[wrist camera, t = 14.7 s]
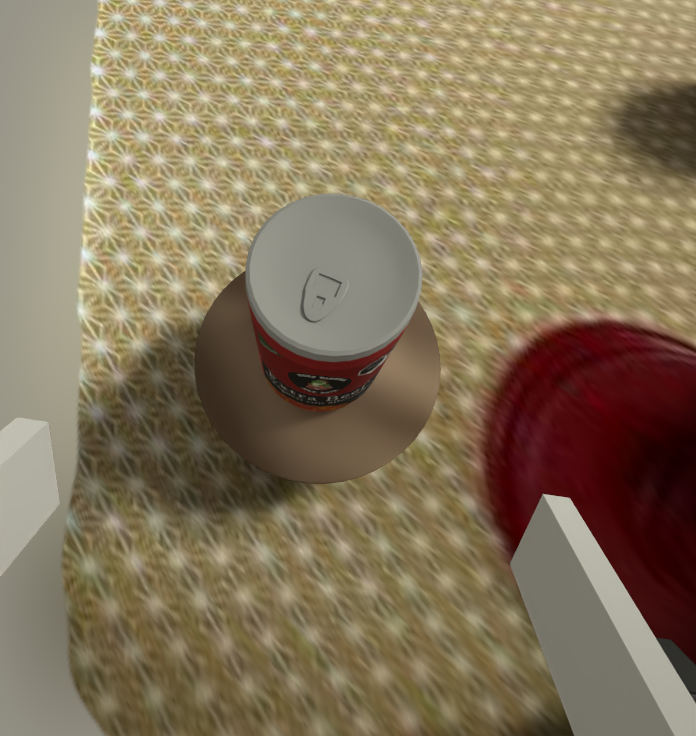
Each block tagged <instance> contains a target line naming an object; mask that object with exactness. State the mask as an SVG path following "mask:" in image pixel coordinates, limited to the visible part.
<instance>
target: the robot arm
mask: <svg viewBox="0 0 696 736" xmlns="http://www.w3.org/2000/svg"><path fill="white" fill-rule="evenodd" d="M59 504H60V500H59V493H58V485H57V478H56V471H55V464H54V457H53V450H52V443H51V436H50V429H49V422H45V421H39V420H32V419H26V418H18V417H17V418H16V419H15V420H13V421H12V422H11V423H10V424H9V425H7V426H6V427H5V428H4V429H2V430H1V431H0V577H1V575H2V574H3V573H4V572H5V570H6V569H7V568H8V567H9V565H10V564H11V563H12V562H13V561H14V559H15V558H16V557H17V555H18V554H19V553H20V552H21V551H22V550H23V548H24V547H25V546H26V545H27V543H28V542H29V541H30V540H31V539H32V537H33V536H34V535H35V533H36V532H37V531H38V530H39V529H40V528H41V526H42V525H43V524H44V523H45V521H46V520H47V519H48V518H49V516H50V515H51V514H52V513H53V512H54V510H55V509H56V508H57V507H58V505H59ZM510 566H511V568H512V571H513V574H514V576H515V579H516V582H517V584H518V587H519V590H520V592H521V595H522V598H523V600H524V603H525V606H526V608H527V611H528V614H529V616H530V619H531V622H532V624H533V627H534V630H535V632H536V635H537V638H538V640H539V643H540V646H541V648H542V651H543V654H544V656H545V659H546V662H547V665H548V667H549V670H550V673H551V675H552V678H553V681H554V683H555V686H556V689H557V691H558V694H559V697H560V699H561V702H562V705H563V707H564V710H565V713H566V715H567V718H568V721H569V723H570V726H571V729H572V731H573V734H574V736H696V665H695V664H694V663H693V662H692V661H691V660H690V659H689V658H688V657H687V656H686V655H685V654H684V653H683V652H682V651H681V650H680V649H679V648H678V647H677V646H676V645H675V644H674V643H673V642H672V641H671V640H668V639H660V638H655V636H654V635H653V633H652V631H651V630H650V628H649V626H648V625H647V623H646V622H645V620H644V618H643V617H642V615H641V613H640V612H639V610H638V609H637V607H636V605H635V604H634V602H633V600H632V599H631V597H630V595H629V594H628V592H627V591H626V589H625V587H624V586H623V584H622V582H621V581H620V579H619V578H618V576H617V574H616V573H615V571H614V569H613V568H612V566H611V565H610V563H609V561H608V560H607V558H606V556H605V555H604V553H603V552H602V550H601V548H600V547H599V545H598V543H597V542H596V540H595V538H594V537H593V535H592V534H591V532H590V530H589V529H588V527H587V525H586V524H585V522H584V521H583V519H582V517H581V516H580V514H579V512H578V511H577V509H576V508H575V506H574V504H573V503H572V501H571V499H570V498H566V497H559V496H552V495H545V494H543V495H542V497H541V499H540V502H539V504H538V506H537V508H536V510H535V512H534V514H533V516H532V519H531V521H530V523H529V525H528V527H527V529H526V531H525V533H524V535H523V538H522V540H521V542H520V544H519V546H518V548H517V550H516V552H515V554H514V557H513V559H512V561H511V563H510Z"/></svg>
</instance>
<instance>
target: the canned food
mask: <svg viewBox="0 0 696 736" xmlns="http://www.w3.org/2000/svg"><path fill="white" fill-rule="evenodd" d="M245 277H246V293H247V298H248V305H249V310H250V314H251V319H252V323H253V328H254V333H255V337H256V342H257V346H258V351H259V356H260V360H261V364H262V369H263V373H264V375H265V377H266V379H267V381H268V383H269V385H270V386H271V387H272V389H273V390H274V391H275V392H276V394H278V395H279V396H280V397H281V398H282V399H283V400H285V401H286V402H288V403H290V404H292V405H293V406H295V407H298V408H301V409H304V410H308V411H317V412H323V411H332V410H336V409H339V408H342V407H345V406H347V405H349V404H350V403H352V402H354V401H356V400H357V399H358V398H359V397H360V396H362V395H363V394H364V393H365V392H366V390H367V389H368V388H369V387H370V385H371V384H372V383H373V381H374V379H375V378H376V376H377V375H378V373H379V371H380V370H381V368H382V366H383V365H384V363H385V362H386V360H387V358H388V357H389V355H390V354H391V352H392V350H393V349H394V347H395V346H396V344H397V342H398V341H399V339H400V338H401V336H402V334H403V332H404V330H405V329H406V327H407V325H408V323H409V321H410V319H411V318H412V316H413V314H414V312H415V310H416V306H417V303H418V300H419V296H420V292H421V289H422V267H421V261H420V256H419V254H418V251H417V248H416V245H415V243H414V241H413V240H412V238H411V236H410V235H409V233H408V231H407V230H406V229H405V228H404V226H403V225H402V224H401V223H400V222H399V221H398V220H397V219H396V218H395V217H394V216H393V215H391V214H390V213H389V212H387V211H386V210H385V209H383V208H382V207H380V206H378V205H376V204H374V203H372V202H370V201H368V200H365V199H361V198H358V197H355V196H350V195H343V194H319V195H314V196H309V197H305V198H302V199H300V200H297V201H295V202H292V203H290V204H288V205H286V206H285V207H283V208H282V209H280V210H279V211H277V212H276V213H275V214H273V215H272V216H271V217H270V218H269V219H268V220H267V221H266V222H265V223H264V224H263V226H262V227H261V228H260V230H259V231H258V233H257V234H256V236H255V238H254V240H253V242H252V244H251V247H250V249H249V252H248V257H247V262H246V273H245Z"/></svg>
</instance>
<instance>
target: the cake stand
mask: <svg viewBox="0 0 696 736" xmlns="http://www.w3.org/2000/svg"><path fill="white" fill-rule="evenodd" d="M245 273H246V271H244V272H243V273H242V274H240V275H239V276H238V277H236V278H235V279H234V280H233V281H232V282H231V283H230V284H229V285H228V286H227V287H226V288H225V289H224V290H223V291H222V292H221V293H220V295H219V296H218V297H217V298H216V300H215V301H214V302H213V304H212V306H211V307H210V309H209V311H208V312H207V314H206V316H205V319H204V321H203V324H202V326H201V328H200V332H199V336H198V339H197V343H196V351H195V377H196V383H197V389H198V393H199V396H200V399H201V402H202V405H203V408H204V410H205V412H206V414H207V416H208V418H209V420H210V422H211V423H212V424H213V426H214V427H215V429H216V430H217V432H218V433H219V435H220V436H221V437H222V438H223V439H224V440H225V441H226V443H227V444H228V445H229V446H230V447H231V448H232V449H233V450H234V451H235V452H236V453H238V454H239V455H240V456H241V457H242V458H244V459H245V460H246V461H248V462H249V463H251V464H253V465H254V466H256V467H257V468H259V469H261V470H263V471H265V472H267V473H270V474H272V475H274V476H277V477H280V478H284V479H287V480H291V481H296V482H302V483H312V484H327V483H336V482H343V481H347V480H351V479H355V478H358V477H361V476H363V475H366V474H368V473H371V472H373V471H375V470H377V469H378V468H380V467H382V466H383V465H385V464H387V463H389V462H390V461H392V460H393V459H394V458H396V457H397V456H398V455H399V454H401V453H402V452H403V451H404V450H405V449H406V448H407V447H408V446H409V445H410V444H411V443H412V442H413V441H414V440H415V438H416V437H417V436H418V434H419V433H420V432H421V430H422V429H423V427H424V426H425V424H426V422H427V420H428V418H429V416H430V414H431V412H432V409H433V407H434V404H435V401H436V398H437V393H438V389H439V384H440V370H441V368H440V354H439V349H438V344H437V339H436V336H435V333H434V330H433V327H432V325H431V323H430V321H429V319H428V317H427V315H426V313H425V311H424V310H423V308H422V307H421V305H420V303H419V302H418V303H417V306H416V310H415V312H414V314H413V316H412V318H411V319H410V321H409V323H408V325H407V327H406V329H405V330H404V332H403V334H402V336H401V338H400V339H399V341H398V342H397V344H396V346H395V347H394V349H393V350H392V352H391V354H390V355H389V357H388V358H387V360H386V362H385V363H384V365H383V366H382V368H381V370H380V371H379V373H378V375H377V376H376V378H375V379H374V381H373V383H372V384H371V385H370V387H369V388H368V389H367V390H366V392H365V393H364V394H363V395H362V396H360V397H359V398H358V399H357V400H356V401H354V402H352V403H350V404H349V405H347V406H345V407H342V408H339V409H336V410H332V411H323V412H317V411H308V410H304V409H301V408H298V407H295V406H293V405H292V404H290V403H288V402H286V401H285V400H283V399H282V398H281V397H280V396H279V395H278V394H276V392H275V391H274V390H273V389H272V387H271V386H270V385H269V383H268V381H267V379H266V377H265V375H264V373H263V369H262V364H261V360H260V356H259V351H258V346H257V342H256V337H255V333H254V328H253V323H252V319H251V314H250V310H249V305H248V298H247V293H246V277H245Z"/></svg>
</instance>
